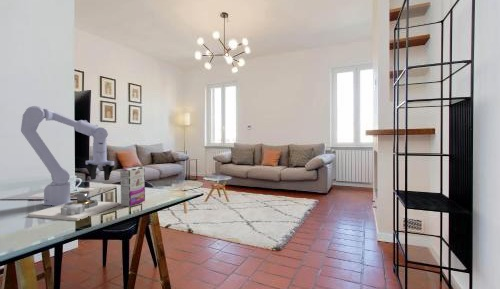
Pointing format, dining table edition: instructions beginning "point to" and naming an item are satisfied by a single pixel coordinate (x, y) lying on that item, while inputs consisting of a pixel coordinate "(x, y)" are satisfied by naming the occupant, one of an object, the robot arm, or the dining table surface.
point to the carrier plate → (73, 210)
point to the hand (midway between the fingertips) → (100, 179)
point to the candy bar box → (132, 186)
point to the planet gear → (82, 199)
